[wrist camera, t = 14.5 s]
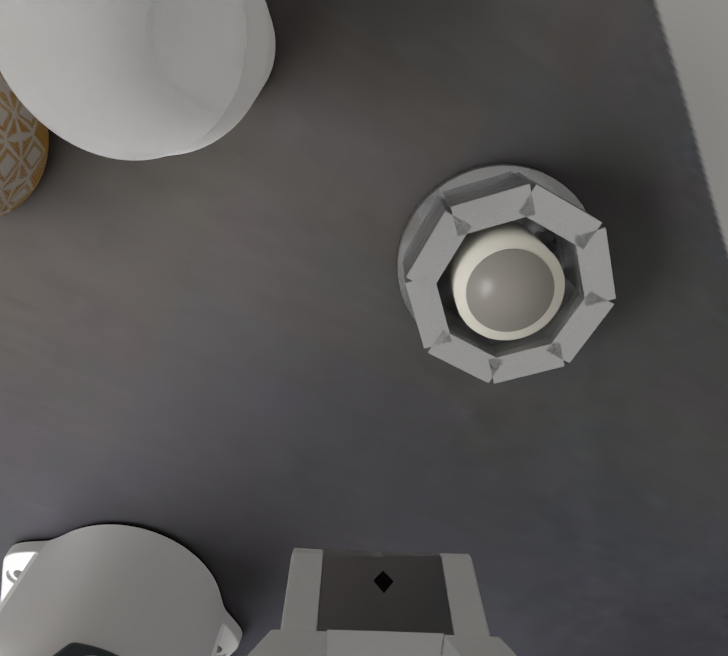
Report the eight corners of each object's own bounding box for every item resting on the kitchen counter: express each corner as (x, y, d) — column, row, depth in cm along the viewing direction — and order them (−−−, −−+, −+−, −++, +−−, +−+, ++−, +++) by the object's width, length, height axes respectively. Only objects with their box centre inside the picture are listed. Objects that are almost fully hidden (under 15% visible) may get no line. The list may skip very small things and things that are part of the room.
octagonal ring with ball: (519, 376, 37) (538, 419, 32) (363, 297, 35) (360, 331, 31) (631, 223, 33) (671, 247, 28) (462, 125, 31) (476, 133, 27)
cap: (536, 314, 34) (556, 343, 30) (442, 310, 34) (450, 339, 30) (551, 221, 32) (574, 240, 28) (451, 217, 32) (460, 236, 28)
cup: (335, 43, 30) (310, 26, 19) (221, 169, 32) (140, 218, 21) (199, -111, 27) (78, -235, 16) (87, 39, 30) (-82, 18, 19)
